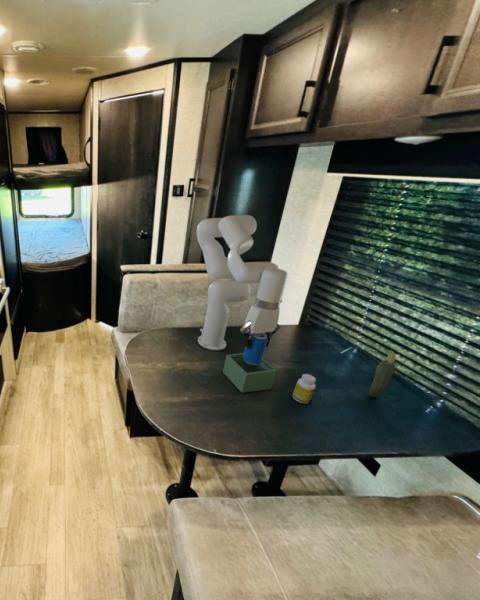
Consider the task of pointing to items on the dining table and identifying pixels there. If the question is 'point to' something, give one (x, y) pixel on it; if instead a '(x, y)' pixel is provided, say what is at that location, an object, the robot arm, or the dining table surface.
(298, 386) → the supplement bottle
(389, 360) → the olive brown bottle
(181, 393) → the dining table surface
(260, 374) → the bin
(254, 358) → the beverage can
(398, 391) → the dining table surface
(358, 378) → the dining table surface
